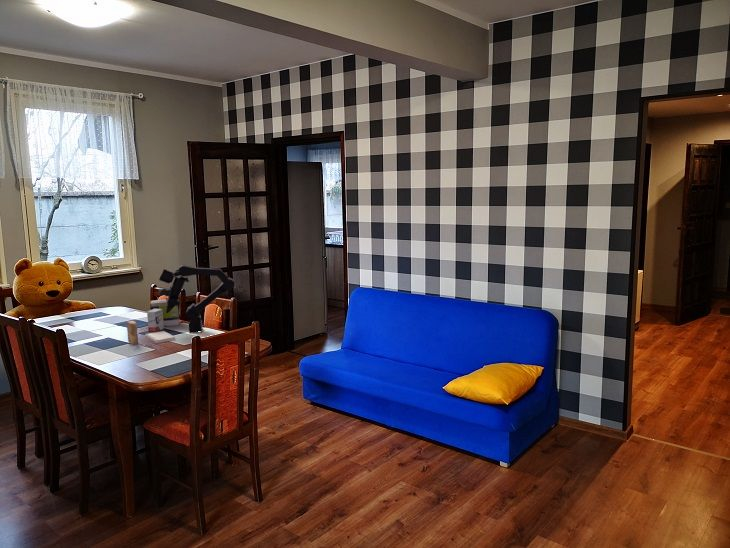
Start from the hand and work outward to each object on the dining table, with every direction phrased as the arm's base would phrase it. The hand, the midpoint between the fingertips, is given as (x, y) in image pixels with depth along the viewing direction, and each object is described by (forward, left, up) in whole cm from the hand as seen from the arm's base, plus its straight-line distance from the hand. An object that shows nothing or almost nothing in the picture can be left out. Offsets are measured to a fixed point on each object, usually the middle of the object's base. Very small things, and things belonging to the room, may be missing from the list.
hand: (166, 312), depth 304 cm
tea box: (+8, -22, -12) cm, 26 cm away
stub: (+13, +17, -12) cm, 24 cm away
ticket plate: (+2, +8, -12) cm, 15 cm away
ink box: (+10, -9, -12) cm, 18 cm away
